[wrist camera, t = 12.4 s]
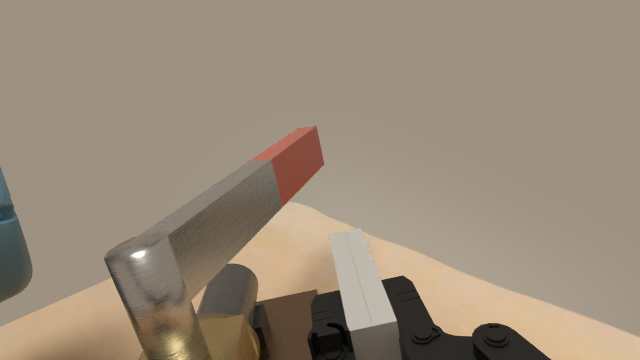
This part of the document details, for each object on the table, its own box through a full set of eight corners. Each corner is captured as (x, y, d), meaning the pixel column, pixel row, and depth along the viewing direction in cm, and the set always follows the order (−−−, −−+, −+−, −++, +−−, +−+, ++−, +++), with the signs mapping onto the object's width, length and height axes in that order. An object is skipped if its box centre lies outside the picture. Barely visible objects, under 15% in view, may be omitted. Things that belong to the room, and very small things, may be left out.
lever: (185, 386, 20) (137, 264, 18) (141, 378, 21) (90, 263, 19) (334, 192, 41) (321, 125, 39) (308, 194, 43) (293, 128, 40)
